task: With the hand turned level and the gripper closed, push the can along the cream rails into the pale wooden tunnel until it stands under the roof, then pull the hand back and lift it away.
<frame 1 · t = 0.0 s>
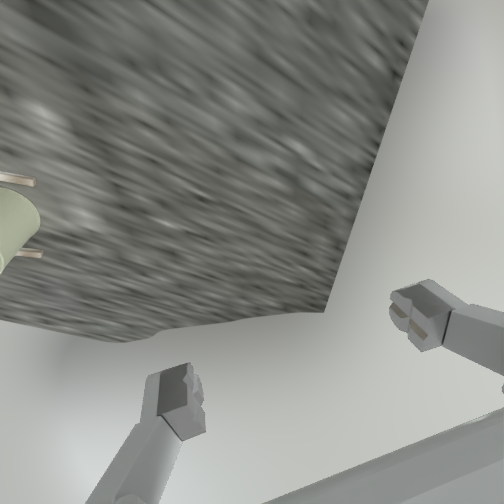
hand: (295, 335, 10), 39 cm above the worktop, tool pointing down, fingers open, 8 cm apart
can: (5, 213, 40), on the worktop
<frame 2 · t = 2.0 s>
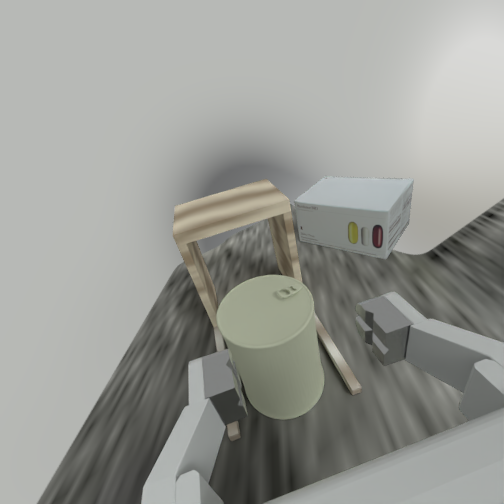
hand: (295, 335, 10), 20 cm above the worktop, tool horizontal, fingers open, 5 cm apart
can: (283, 377, 30), on the worktop
tunnel: (253, 295, 43), on the worktop
supplement box: (352, 234, 52), on the worktop
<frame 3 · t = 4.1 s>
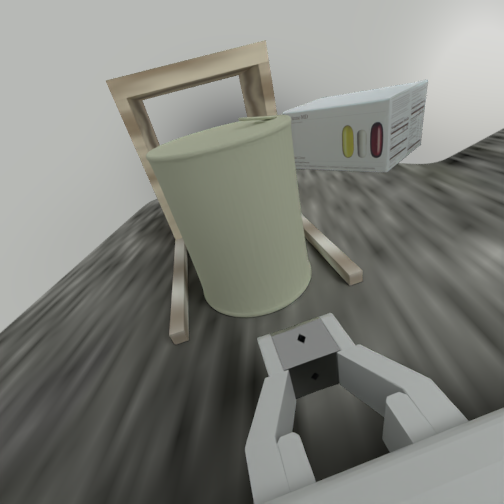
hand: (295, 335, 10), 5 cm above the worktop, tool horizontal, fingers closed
can: (257, 278, 22), on the worktop
tunnel: (230, 214, 35), on the worktop
supplement box: (351, 159, 44), on the worktop
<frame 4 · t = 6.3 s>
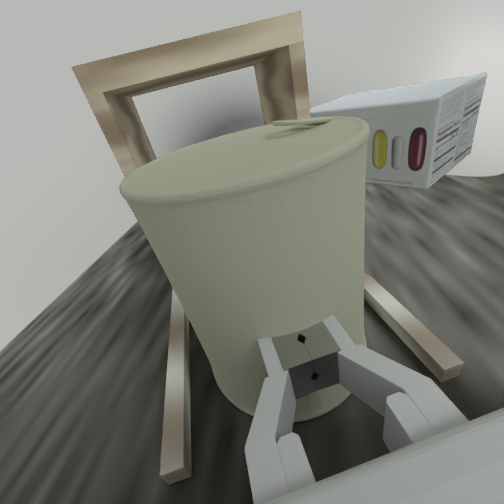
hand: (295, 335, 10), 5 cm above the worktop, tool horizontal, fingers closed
can: (285, 343, 16), on the worktop, touching gripper
tunnel: (241, 238, 28), on the worktop
supplement box: (382, 168, 37), on the worktop
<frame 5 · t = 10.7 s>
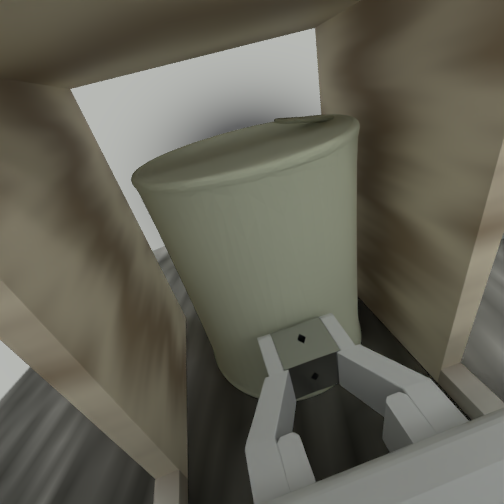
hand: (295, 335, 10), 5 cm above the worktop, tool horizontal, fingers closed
can: (284, 331, 17), on the worktop
tunnel: (281, 342, 16), on the worktop
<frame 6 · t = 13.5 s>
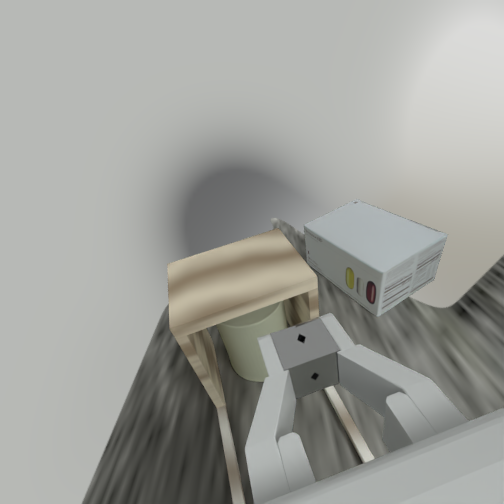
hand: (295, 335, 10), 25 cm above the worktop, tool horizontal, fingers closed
can: (261, 351, 38), on the worktop
tunnel: (259, 356, 37), on the worktop
supplement box: (363, 272, 47), on the worktop
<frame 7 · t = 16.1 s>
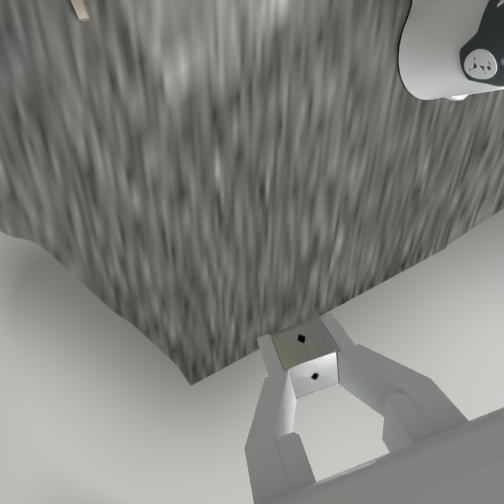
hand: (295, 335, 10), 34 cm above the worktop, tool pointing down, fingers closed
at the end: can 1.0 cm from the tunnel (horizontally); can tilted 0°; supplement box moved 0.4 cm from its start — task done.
